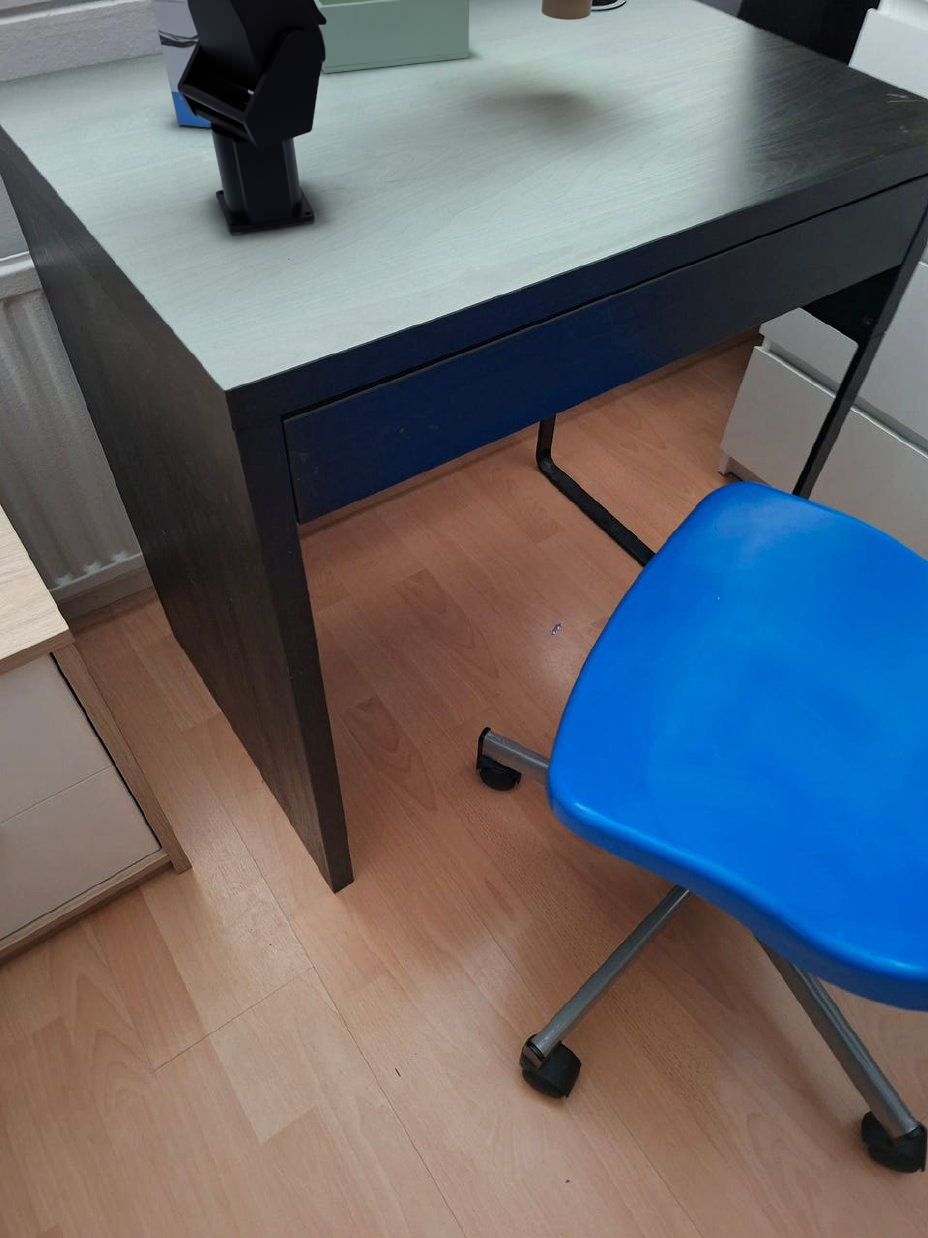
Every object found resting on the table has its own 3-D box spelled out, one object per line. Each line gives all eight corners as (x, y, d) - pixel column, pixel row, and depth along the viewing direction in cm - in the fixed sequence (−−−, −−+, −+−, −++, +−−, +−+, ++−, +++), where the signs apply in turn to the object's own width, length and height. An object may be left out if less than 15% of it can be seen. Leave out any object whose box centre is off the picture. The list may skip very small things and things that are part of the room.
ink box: (228, 131, 75) (198, -34, 66) (176, 125, 75) (138, -38, 66) (262, 96, 80) (238, -61, 71) (212, 91, 81) (182, -65, 72)
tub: (468, 57, 87) (469, -7, 83) (325, 73, 84) (318, 7, 80) (423, 13, 97) (422, -47, 92) (292, 26, 93) (284, -36, 89)
